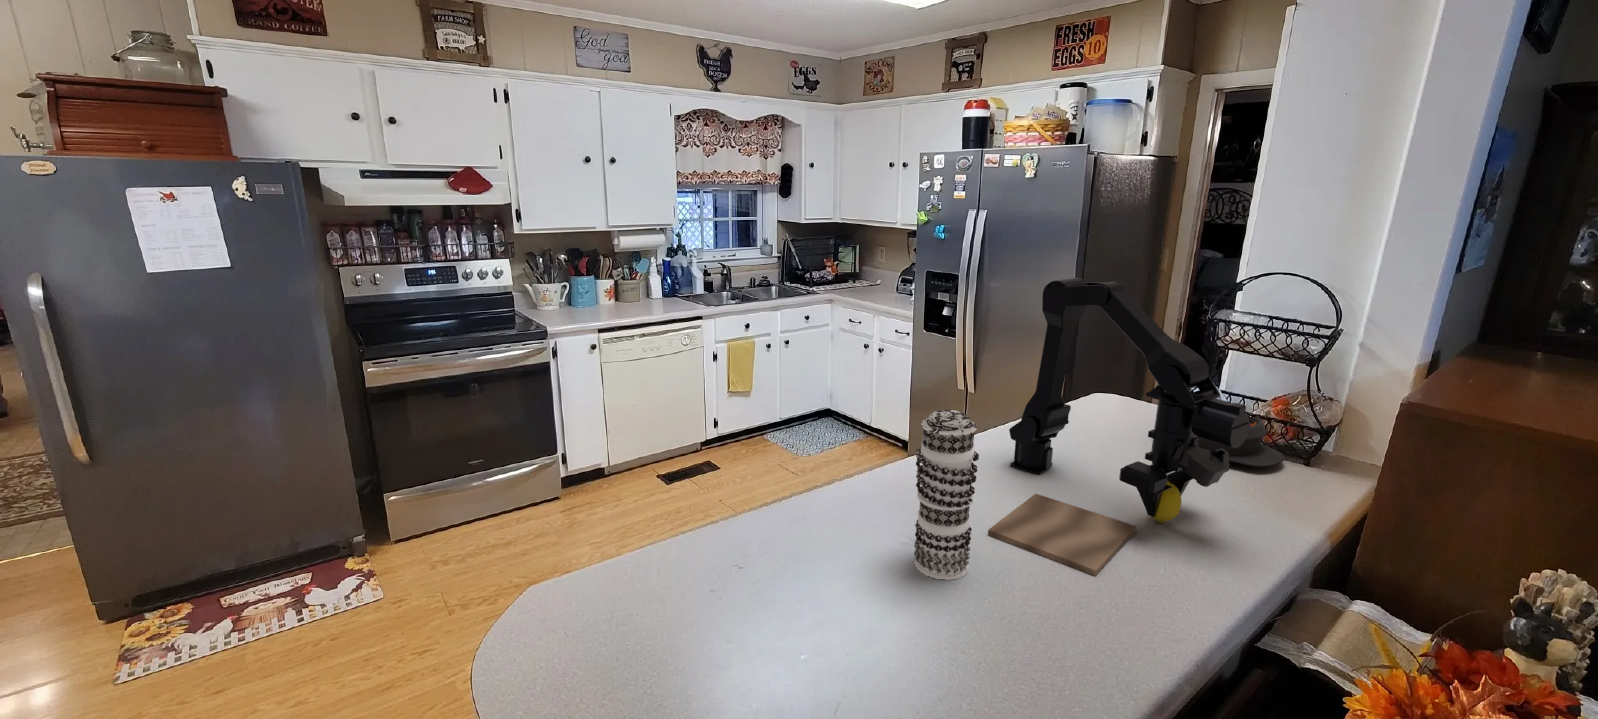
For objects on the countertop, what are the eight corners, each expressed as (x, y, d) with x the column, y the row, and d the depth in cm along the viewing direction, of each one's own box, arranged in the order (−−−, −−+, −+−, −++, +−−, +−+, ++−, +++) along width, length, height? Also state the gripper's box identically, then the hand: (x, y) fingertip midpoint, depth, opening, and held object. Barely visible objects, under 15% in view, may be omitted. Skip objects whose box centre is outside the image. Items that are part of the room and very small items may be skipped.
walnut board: (987, 534, 117) (988, 529, 116) (1035, 498, 129) (1035, 493, 129) (1095, 576, 105) (1096, 570, 104) (1136, 531, 117) (1136, 525, 117)
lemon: (1169, 515, 122) (1176, 474, 120) (1183, 531, 117) (1190, 488, 115) (1137, 513, 123) (1143, 472, 121) (1149, 529, 118) (1155, 487, 116)
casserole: (1300, 461, 144) (1308, 424, 141) (1253, 483, 134) (1261, 443, 132) (1183, 425, 164) (1188, 391, 162) (1135, 441, 155) (1140, 406, 153)
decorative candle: (933, 542, 114) (940, 400, 108) (982, 564, 108) (993, 414, 101) (899, 564, 108) (904, 415, 101) (949, 588, 102) (958, 431, 95)
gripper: (1190, 456, 104) (1175, 548, 108) (1253, 431, 113) (1238, 516, 118) (1122, 433, 113) (1112, 518, 117) (1187, 411, 123) (1174, 491, 127)
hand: (1161, 511), depth 120 cm, fingers closed on lemon, 5 cm apart
